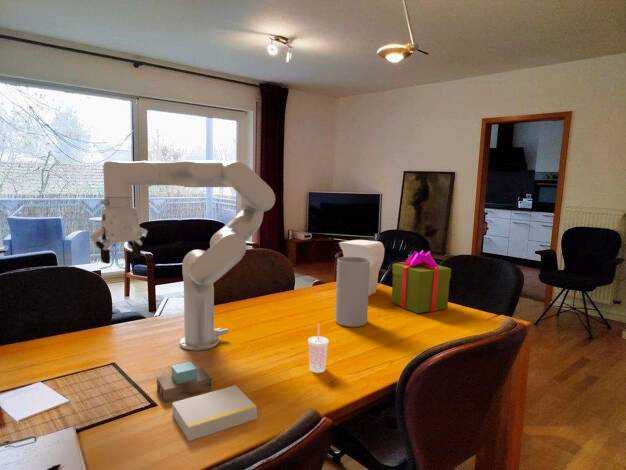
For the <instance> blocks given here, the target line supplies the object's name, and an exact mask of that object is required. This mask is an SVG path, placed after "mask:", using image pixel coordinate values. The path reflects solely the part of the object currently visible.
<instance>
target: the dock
mask: <svg viewBox="0 0 626 470" xmlns="http://www.w3.org/2000/svg"><path fill="white" fill-rule="evenodd" d="M171 408H172V409H171V410H172V411H171V412H172V413H171V414H172V416H173V418H174V420H175V421H176V423H177V424H178V426H179V427H180V430H181V431H182V432H183V434H184V435H185V437H186V439H187V440H188V442H191V441H194V440H197V439H199V438H203V437H206V436H209V435H211V434H215V433H219V432H221V431H224V430H228V429H230V428H233V427H236V426H238V425H243V424H246V423H249V422H251V421H255V420H257V419H258V407H257V405H256V404H255V403H254V402H253V401H252V400H251V399H250V398H249V397H248V396H247V395H246V394H245V393H244V392H243V391H242V390H241V389H240V388H239V387H238V386H237V385H231V386H229V387H225V388H221V389H217V390H213V391H208V392H205V393H201V394H197V395H194V396H190V397H188V398H187V397H186V398H183V399H181V400H180V399H179V400H177V401H176V400H175V401H172V403H171Z"/></svg>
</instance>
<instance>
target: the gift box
mask: <svg viewBox="0 0 626 470" xmlns="http://www.w3.org/2000/svg"><path fill="white" fill-rule="evenodd" d="M431 253H432V252H431V251H428V252H425V251H424V249H423V250H421V251H420V252H418V251H416V250H414V251H413V253H411V255H410V256H408V258H406V260H405V262H404V261H402V262H401V261H399V262H397V263H392V271H391V272H392V289H391V303H393V304H395V305H398V306H400V307H401V308H402V309H405V310H409V311H411V312H414V313H416V314H421V313H426V312H429V313H431V312H433V313H434V312H435V311H439V310H445V309H448V306H449V294H450V293H449V291H450V280H451V277H452V268H450V267H447V266H443V265H439V264H438V263H436V261H435V259H434V258H433V256H432V255H431Z"/></svg>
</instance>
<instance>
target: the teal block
mask: <svg viewBox="0 0 626 470" xmlns="http://www.w3.org/2000/svg"><path fill="white" fill-rule="evenodd" d="M197 368H198V367H196V366H195V365H194V363H192V361H186V362H181V363H177V364H172V365H171V368H170V369H171V374H172V378H173V379H174V380H175V382H176V383H177V384H181V383H185V382H189V381H193V380H197Z"/></svg>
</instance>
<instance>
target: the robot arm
mask: <svg viewBox="0 0 626 470" xmlns="http://www.w3.org/2000/svg"><path fill="white" fill-rule="evenodd" d="M102 172H103V187H104V188H103V191H104V198H103V200H102V199H100V204H101V206H104V208H102V213H101V214H102V215H101V222H100V224H101V225H100V229H99V230H97V231H96V232H94V233H93V234H91V235H90V239H91V241H92V242H93V244H94V245H95V246H96V247H97V248H98V249H99V250H100V260H101V262H102V263H103V264H108V265H109V264H110V263H111V257H110V256H111V254H110V252H111V251H110V249H109V247H110V246H111V245H112V244H120V243H127V242H132V243H133V244H132V245H131V248H132V250H131V251H132V258H134V259H141V254H142V251H141V246H142V245H143V242H144V241H145V240H146V237H147V234H148V232H149V231H148V230H147V228H143V227H141V226H140V220H139V215H138V212H137V211H138V209H137V208H136V207H134V200H133V186H138V187H139V186H140V187H152V186H176V187H177V186H178V187H184V188H233V189H234V191H236V192H237V193H238V195H240V203H241V205H240V209H239V211H238V213H237V214H236V216H235V217H233V218H232V219H231V220H230V221H229V222H227V223H226V224H225V225H224V226H222V228H220V229H219V230H217V231H216V232H215V233H214V234H213V235H212V237H211V238H210V241H209V248H207V250H202V249H193V250H191V251H188V253H186V255H185V256H184V258H183V260H182V263H181V267H182V268H181V269H182V271H181V273H182V279H183V313H184V316H183V317H184V318H183V320H184V322H183V323H184V329H183V330H184V337H182V338H181V339H180V341H179V346H180V347H181V348H182V349H183V350H188V351H206V350H209V349H212V348H215V347H216V346H217V345H219V343H220V342H219V341H220V340H219V339H220V338H219V337H220V336H224V335H225V336H226V335H228V334H229V329H228V328H223V329H222V327H218V328H215V287H214V284H215V283H216V282H217V281H218V280H219V279H221V278H222V277H223V276H224V275H225V274H227V273H228V272H229V271H231V269H232V268H233V267H234V266H236V265H237V264H238V263H239V262H240V261H241V260H242V259H243V257H244V256H245V254H246V252H247V251H246V250H247V241H248V240H250V238H251V237H253V235H254V234H255V233H256V232H257V231H258V230H259V228H260V227H261V224H262V222H263V219H264V212H267V211H269V210H271V209H272V208H273V206H274V205H275V202H276V194H275V193H274V191H273V189H272V188H271V186H269V185H268V184H267V182H266V181H264V180H263V179H262V178H261V177H260V176H259V175H258V174H257V173H256V172H255V171H254V170H253V169H252V168H251V167H249V166H248V165H247V164H246V163H244V162H243V161H240V160H204V159H203V160H202V159H201V160H197V159H196V160H195V159H194V160H193V159H192V160H191V159H190V160H182V161H149V160H141V161H130V162H129V161H125V160H124V161H122V160H108V161H105V162H104V163H103V165H102ZM100 237H101V240H102V241H100V239H99V238H100Z"/></svg>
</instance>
